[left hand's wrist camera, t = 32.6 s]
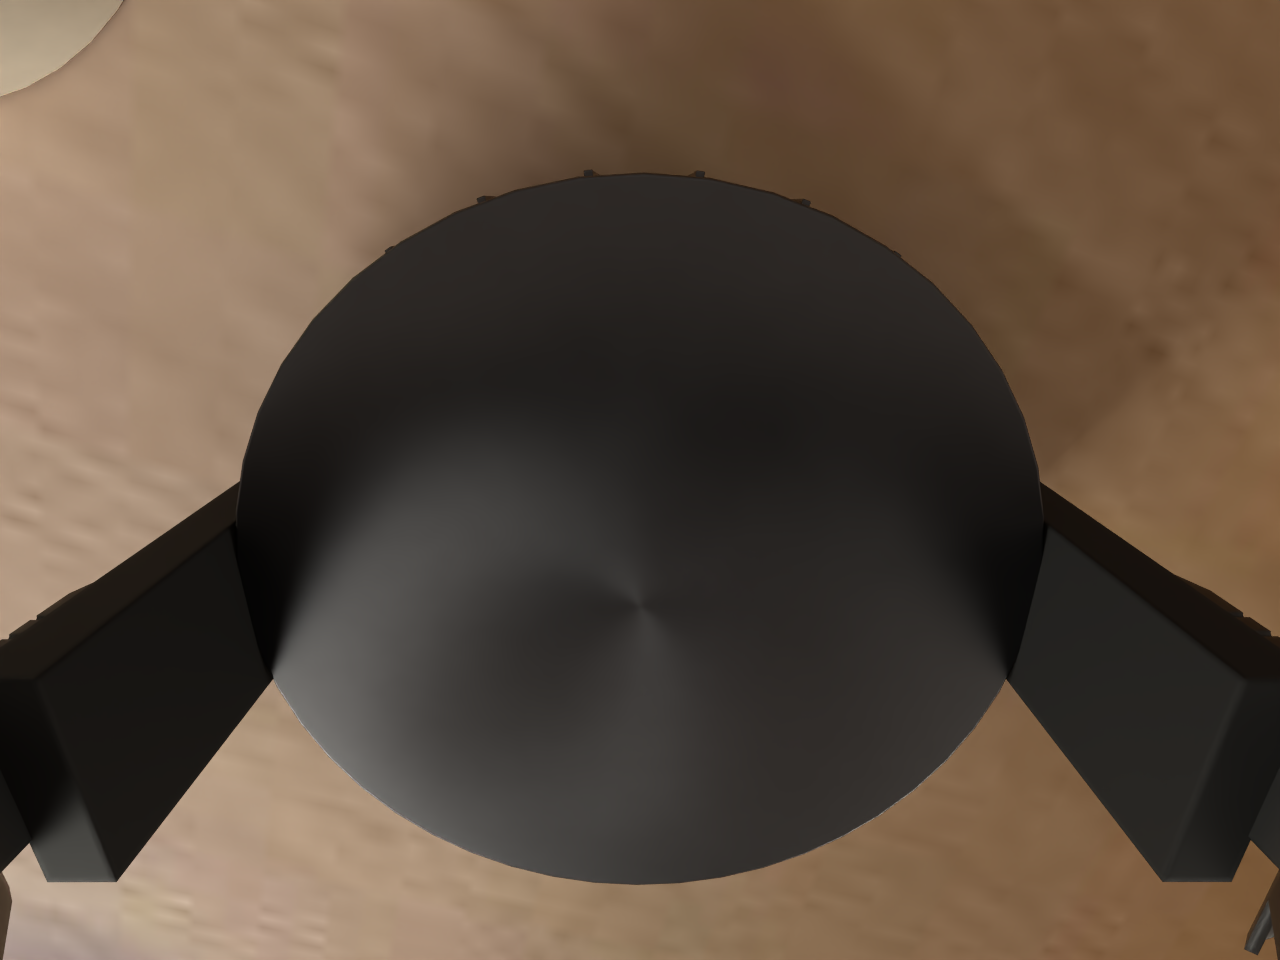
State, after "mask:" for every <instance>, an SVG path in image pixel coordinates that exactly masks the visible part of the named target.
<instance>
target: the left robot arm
mask: <svg viewBox="0 0 1280 960" xmlns="http://www.w3.org/2000/svg"><path fill="white" fill-rule="evenodd" d="M239 485H240V481H239V482H238V483H237V484H235V485H234V486H232V487H231V488H229V489H228V490H226V491H225V492H224V493H222V494H221V495H219V496H218V497H216V498H215V499H213V500H212V501H211V502H209V503H208V504H206V505H205V506H203V507H202V508H200V509H199V510H198V511H196V512H195V513H193V514H192V515H190V516H189V517H188V518H186V519H185V520H183V521H182V522H180V523H179V524H177V525H176V526H175V527H173V528H172V529H170V530H169V531H167V532H166V533H164V534H163V535H162V536H160V537H159V538H157V539H156V540H154V541H153V542H151V543H150V544H149V545H147V546H146V547H144V548H143V549H141V550H140V551H138V552H137V553H136V554H134V555H133V556H131V557H130V558H128V559H127V560H125V561H124V562H123V563H121V564H120V565H118V566H117V567H115V568H114V569H112V570H111V571H110V572H108V573H107V574H105V575H104V576H102V577H101V578H99V579H98V580H97V581H95V582H94V583H91V584H89V585H87V586H85V587H83V588H80V589H78V590H76V591H74V592H71V593H69V594H68V595H66V596H65V597H63V598H62V599H61V600H59V601H58V602H56V603H55V604H53V605H52V606H50V607H49V608H47V609H46V610H44V611H43V612H41V613H40V614H39V615H37V619H36V620H30V621H28V622H27V623H25V624H24V625H22V626H21V627H19V628H18V629H17V630H15V631H14V632H12V633H11V634H9V639H2V640H0V960H3V954H4V948H5V942H6V936H7V929H8V923H9V917H10V911H11V905H12V899H11V894H10V889H9V885H8V883H7V881H6V879H5V877H4V875H3V873H2V871H3V870H4V869H5V868H6V867H7V866H8V865H9V864H10V862H11V861H12V860H13V859H14V858H15V857H16V856H17V855H18V854H19V853H20V852H21V851H22V850H23V849H24V848H25V847H26V846H27V845H28V844H29V843H30V845H31V847H32V849H33V852H34V854H35V856H36V858H37V860H38V863H39V865H40V867H41V869H42V871H43V873H44V876H45V878H46V880H47V882H117V881H118V879H119V878H120V877H121V875H122V874H123V873H124V871H125V870H126V869H127V868H128V866H129V865H130V864H131V862H132V861H133V860H134V859H135V857H136V856H137V855H138V853H139V852H140V851H141V849H142V848H143V847H144V846H145V844H146V843H147V842H148V840H149V839H150V838H151V836H152V835H153V834H154V833H155V831H156V830H157V829H158V827H159V826H160V825H161V824H162V822H163V821H164V820H165V818H166V817H167V816H168V814H169V813H170V812H171V811H172V809H173V808H174V807H175V805H176V804H177V803H178V801H179V800H180V799H181V798H182V796H183V795H184V794H185V792H186V791H187V790H188V789H189V787H190V786H191V785H192V783H193V782H194V781H195V779H196V778H197V777H198V776H199V774H200V773H201V772H202V770H203V769H204V768H205V766H206V765H207V764H208V763H209V761H210V760H211V759H212V757H213V756H214V755H215V754H216V752H217V751H218V750H219V748H220V747H221V746H222V744H223V743H224V742H225V741H226V739H227V738H228V737H229V735H230V734H231V733H232V731H233V730H234V729H235V728H236V726H237V725H238V724H239V722H240V721H241V720H242V719H243V717H244V716H245V715H246V713H247V712H248V711H249V709H250V708H251V707H252V706H253V704H254V703H255V702H256V700H257V699H258V698H259V696H260V695H261V694H262V693H263V691H264V690H265V689H266V687H267V686H268V685H269V684H270V682H271V681H272V680H273V677H272V675H271V673H270V671H269V669H268V667H267V665H266V663H265V660H264V658H263V656H262V654H261V652H260V650H259V648H258V644H257V640H256V637H255V633H254V629H253V626H252V622H251V618H250V614H249V610H248V606H247V602H246V598H245V594H244V590H243V586H242V581H241V577H240V572H239V568H238V563H237V550H236V506H237V499H238V492H239ZM1040 487H1041V496H1042V504H1043V512H1044V529H1043V557H1042V562H1041V567H1040V571H1039V575H1038V579H1037V583H1036V588H1035V592H1034V596H1033V600H1032V604H1031V608H1030V612H1029V616H1028V620H1027V624H1026V628H1025V632H1024V635H1023V639H1022V643H1021V646H1020V650H1019V653H1018V655H1017V657H1016V659H1015V661H1014V663H1013V665H1012V667H1011V669H1010V671H1009V673H1008V675H1007V677H1006V679H1007V681H1008V682H1009V683H1010V685H1011V686H1012V687H1013V688H1014V690H1015V691H1016V692H1017V694H1018V695H1019V696H1020V698H1021V699H1022V700H1023V701H1024V703H1025V704H1026V705H1027V707H1028V708H1029V709H1030V710H1031V712H1032V713H1033V714H1034V716H1035V717H1036V718H1037V720H1038V721H1039V722H1040V723H1041V725H1042V726H1043V727H1044V729H1045V730H1046V731H1047V733H1048V734H1049V735H1050V736H1051V738H1052V739H1053V740H1054V742H1055V743H1056V744H1057V745H1058V747H1059V748H1060V749H1061V751H1062V752H1063V753H1064V755H1065V756H1066V757H1067V758H1068V760H1069V761H1070V762H1071V764H1072V765H1073V766H1074V768H1075V769H1076V770H1077V771H1078V773H1079V774H1080V775H1081V777H1082V778H1083V779H1084V781H1085V782H1086V783H1087V784H1088V786H1089V787H1090V788H1091V790H1092V791H1093V792H1094V793H1095V795H1096V796H1097V797H1098V799H1099V800H1100V801H1101V803H1102V804H1103V805H1104V806H1105V808H1106V809H1107V810H1108V812H1109V813H1110V814H1111V816H1112V817H1113V818H1114V819H1115V821H1116V822H1117V823H1118V825H1119V826H1120V827H1121V828H1122V830H1123V831H1124V832H1125V834H1126V835H1127V836H1128V838H1129V839H1130V840H1131V841H1132V843H1133V844H1134V845H1135V847H1136V848H1137V849H1138V851H1139V852H1140V853H1141V854H1142V856H1143V857H1144V858H1145V860H1146V861H1147V862H1148V863H1149V865H1150V866H1151V867H1152V869H1153V870H1154V871H1155V873H1156V874H1157V875H1158V876H1159V878H1160V879H1161V880H1162V882H1232V880H1233V877H1234V875H1235V873H1236V871H1237V869H1238V866H1239V864H1240V862H1241V860H1242V858H1243V856H1244V853H1245V851H1246V849H1247V847H1248V845H1249V842H1250V840H1252V841H1253V842H1254V844H1255V845H1256V846H1257V847H1258V848H1259V849H1260V850H1261V851H1262V852H1263V853H1264V854H1265V855H1266V856H1267V857H1268V858H1269V859H1270V860H1271V861H1272V862H1273V863H1274V864H1275V865H1276V866H1277V867H1278V868H1279V871H1278V873H1277V875H1276V877H1275V879H1274V881H1273V883H1272V885H1271V888H1270V890H1269V892H1268V894H1267V896H1266V898H1265V900H1264V902H1263V904H1262V906H1261V908H1260V910H1259V912H1258V914H1257V916H1256V918H1255V920H1254V922H1253V924H1252V926H1251V928H1250V930H1249V932H1248V935H1247V939H1246V944H1245V948H1244V949H1245V950H1247V951H1249V952H1252V953H1254V954H1256V955H1258V953H1259V951H1260V949H1261V947H1262V945H1263V944H1264V942H1265V940H1266V939H1269V938H1272V937H1274V939H1275V945H1276V951H1277V957H1278V960H1280V637H1278V636H1271V631H1269V630H1268V629H1266V628H1265V627H1263V626H1262V625H1260V624H1259V623H1257V622H1256V621H1255V620H1253V619H1252V618H1250V617H1244V616H1243V612H1241V611H1240V610H1238V609H1237V608H1235V607H1234V606H1232V605H1231V604H1229V603H1228V602H1226V601H1225V600H1223V599H1222V598H1221V597H1219V596H1218V595H1216V594H1215V593H1213V592H1212V591H1210V590H1208V589H1206V588H1203V587H1201V586H1199V585H1197V584H1194V583H1192V582H1190V581H1188V580H1185V579H1183V578H1181V577H1179V576H1176V575H1174V574H1172V573H1171V572H1170V571H1168V570H1167V569H1165V568H1164V567H1162V566H1161V565H1159V564H1158V563H1157V562H1155V561H1154V560H1152V559H1151V558H1149V557H1148V556H1146V555H1145V554H1144V553H1142V552H1141V551H1139V550H1138V549H1136V548H1135V547H1133V546H1132V545H1131V544H1129V543H1128V542H1126V541H1125V540H1123V539H1122V538H1120V537H1119V536H1118V535H1116V534H1115V533H1113V532H1112V531H1110V530H1109V529H1107V528H1106V527H1105V526H1103V525H1102V524H1100V523H1099V522H1097V521H1096V520H1095V519H1093V518H1092V517H1090V516H1089V515H1087V514H1086V513H1084V512H1083V511H1082V510H1080V509H1079V508H1077V507H1076V506H1074V505H1073V504H1071V503H1070V502H1069V501H1067V500H1066V499H1064V498H1063V497H1061V496H1060V495H1058V494H1057V493H1056V492H1054V491H1053V490H1051V489H1050V488H1048V487H1047V486H1045V485H1044V484H1043V483H1041V482H1040Z"/></svg>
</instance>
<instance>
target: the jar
mask: <svg viewBox="0 0 1280 960" xmlns="http://www.w3.org/2000/svg"><path fill="white" fill-rule="evenodd" d="M122 2H123V0H0V97H1V96H3V95H6V94H9V93H12V92H15V91H18V90H20V89H23V88H26V87H28V86H30V85H31V84H33V83H35V82H37V81H38V80H40V79H42V78H44V77H45V76H47V75H49V74H51V73H52V72H54V71H56V70H58V69H59V68H61V67H62V66H64V65H65V64H66V63H67V62H68V61H69V60H71V59H72V58H73V57H74V56H75V55H77V54H78V53H79V52H80V51H81V50H82V49H84V48H85V47H86V46H87V45H88V44H90V43H91V42H92V41H93V39H94V38H95V37H96V36H97V35H98V33H99V32H100V31H101V30H102V29H103V27H104V26H105V25H106V24H107V23H108V21H109V20H110V19H111V18H112V17H113V15H114V14H115V13H116V12H117V11H118V9H119V7H120V6H121V4H122Z"/></svg>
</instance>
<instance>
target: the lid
mask: <svg viewBox="0 0 1280 960" xmlns="http://www.w3.org/2000/svg"><path fill="white" fill-rule="evenodd" d="M704 175H705V172H703V171H695V172H694V173H692V174H690V175H688V176H680V175H667V174H655V173H631V174H615V175H599V174H597V173H596V172H594V171H593V170H585V171H584V176H582V177H575V178H570V179H566V180H561V181H556V182H551V183H546V184H542V185H537V186H532V187H527V188H522V189H518V190H514V191H511V192H508V193H506V194H503V195H500V196H497V197H496V196H482V197H480V198H477V201H478V204H476V205H473V206H470V207H467V208H465V209H462V210H459V211H457V212H454V213H452V214H451V215H449V216H447V217H445V218H443V219H441V220H440V221H438V222H436V223H434V224H432V225H430V226H429V227H427V228H425V229H423V230H421V231H419V232H418V233H416V234H414V235H412V236H410V237H408V238H406V239H405V240H403V241H401V242H400V243H398V244H397V245H396V246H391V247H389V248H388V249H387V250H385V252H386V253H385V254H384V255H382V256H381V257H380V258H378V259H377V260H376V261H375V262H373V263H372V264H371V265H369V266H368V267H367V268H365V269H364V270H363V271H361V272H360V273H359V274H357V275H356V276H355V277H353V278H352V279H351V280H350V281H349V282H348V284H347V285H346V286H345V287H344V288H343V289H342V290H341V291H340V292H339V293H338V294H337V295H336V296H335V297H334V298H333V299H332V300H331V301H330V302H329V303H328V304H327V305H326V306H325V307H324V308H323V309H322V310H321V311H320V312H319V313H318V315H317V316H316V317H315V318H314V319H313V320H312V321H311V323H310V324H309V326H308V327H307V328H306V330H305V331H304V333H303V334H302V336H301V337H300V338H299V340H298V341H297V343H296V344H295V345H294V347H293V348H292V350H291V351H290V353H289V354H288V355H287V357H286V358H285V360H284V361H283V363H282V364H281V366H280V368H279V370H278V372H277V374H276V376H275V378H274V380H273V382H272V384H271V386H270V388H269V390H268V392H267V394H266V396H265V398H264V401H263V403H262V405H261V407H260V409H259V411H258V413H257V417H256V420H255V423H254V426H253V430H252V433H251V436H250V439H249V443H248V446H247V449H246V453H245V456H244V459H243V464H242V471H241V478H240V485H239V492H238V499H237V506H236V550H237V563H238V568H239V572H240V577H241V581H242V586H243V590H244V594H245V598H246V602H247V606H248V610H249V614H250V618H251V622H252V626H253V629H254V633H255V637H256V640H257V644H258V648H259V650H260V652H261V654H262V656H263V658H264V660H265V663H266V665H267V667H268V669H269V671H270V673H271V675H272V677H273V679H274V681H275V684H276V686H277V687H278V689H279V691H280V692H281V694H282V695H283V697H284V698H285V700H286V701H287V703H288V704H289V706H290V708H291V709H292V711H293V712H294V714H295V715H296V717H297V718H298V720H299V721H300V723H301V724H302V726H303V727H304V728H305V729H306V730H307V731H308V733H309V734H310V735H311V736H312V737H313V739H314V740H315V741H316V742H317V743H318V745H319V746H320V747H321V748H322V749H323V750H324V752H325V753H326V754H327V755H328V756H329V758H331V759H332V760H333V761H334V762H335V763H336V764H337V765H338V766H339V767H340V768H341V769H342V770H343V771H344V772H345V773H347V774H348V775H349V776H350V777H351V778H352V779H353V780H354V781H355V782H356V783H357V784H358V785H359V786H360V787H362V788H363V789H364V790H366V791H367V792H368V793H370V794H371V795H372V796H374V797H375V798H376V799H378V800H379V801H380V802H382V803H383V804H384V805H386V806H387V807H388V808H390V809H391V810H392V811H394V812H395V813H397V814H398V815H400V816H402V817H403V818H405V819H407V820H408V821H410V822H412V823H414V824H415V825H417V826H419V827H420V828H422V829H424V830H425V831H427V832H429V833H430V834H432V835H434V836H436V837H439V838H441V839H443V840H445V841H447V842H449V843H452V844H454V845H456V846H458V847H460V848H462V849H465V850H467V851H469V852H471V853H474V854H477V855H480V856H483V857H485V858H488V859H491V860H494V861H497V862H500V863H503V864H506V865H508V866H511V867H515V868H520V869H524V870H528V871H532V872H536V873H540V874H544V875H548V876H553V877H559V878H566V879H573V880H580V881H587V882H594V883H612V884H631V885H645V884H669V883H684V882H691V881H699V880H706V879H713V878H721V877H726V876H730V875H734V874H738V873H743V872H747V871H751V870H756V869H760V868H764V867H767V866H770V865H773V864H776V863H779V862H782V861H785V860H788V859H791V858H794V857H797V856H800V855H803V854H805V853H807V852H810V851H812V850H814V849H816V848H819V847H821V846H823V845H825V844H827V843H830V842H832V841H834V840H836V839H839V838H841V837H843V836H845V835H846V834H848V833H850V832H852V831H853V830H855V829H857V828H859V827H860V826H862V825H864V824H866V823H867V822H869V821H871V820H872V819H874V818H876V817H878V816H879V815H881V814H882V813H884V812H885V811H886V810H888V809H889V808H890V807H892V806H893V805H895V804H896V803H897V802H899V801H900V800H901V799H903V798H904V797H906V796H907V795H908V794H910V793H911V792H912V791H914V790H915V789H916V788H917V787H918V786H919V785H921V784H922V783H923V782H924V781H925V780H926V779H927V778H928V777H929V776H930V775H931V774H933V773H934V772H935V771H936V770H937V769H938V768H939V767H940V766H941V765H942V764H944V763H945V762H946V761H947V760H948V758H949V757H950V756H951V755H952V754H953V753H954V752H955V750H956V749H957V748H958V747H959V746H960V745H961V743H962V742H963V741H964V740H965V739H966V738H967V737H968V735H969V734H970V733H971V732H972V731H973V730H974V729H975V727H976V726H977V724H978V723H979V721H980V720H981V718H982V717H983V715H984V714H985V712H986V711H987V709H988V708H989V706H990V705H991V703H992V702H993V700H994V699H995V697H996V696H997V694H998V693H999V692H1000V690H1001V688H1002V685H1003V683H1004V681H1005V679H1006V677H1007V675H1008V673H1009V671H1010V669H1011V667H1012V665H1013V663H1014V661H1015V659H1016V657H1017V655H1018V653H1019V650H1020V646H1021V643H1022V639H1023V635H1024V632H1025V628H1026V624H1027V620H1028V616H1029V612H1030V608H1031V604H1032V600H1033V596H1034V592H1035V588H1036V583H1037V579H1038V575H1039V571H1040V567H1041V562H1042V557H1043V529H1044V512H1043V504H1042V496H1041V487H1040V479H1039V470H1038V465H1037V462H1036V458H1035V455H1034V451H1033V448H1032V444H1031V440H1030V437H1029V433H1028V430H1027V426H1026V423H1025V419H1024V417H1023V414H1022V412H1021V410H1020V408H1019V406H1018V404H1017V401H1016V399H1015V397H1014V395H1013V393H1012V391H1011V389H1010V386H1009V384H1008V382H1007V380H1006V378H1005V376H1004V373H1003V371H1002V370H1001V368H1000V367H999V365H998V364H997V362H996V361H995V359H994V358H993V356H992V355H991V353H990V352H989V350H988V349H987V347H986V346H985V344H984V343H983V341H982V340H981V338H980V337H979V335H978V334H977V332H976V331H975V329H974V328H973V326H972V325H971V324H970V323H969V322H968V321H967V319H966V318H965V317H964V316H963V315H962V314H961V313H960V312H959V311H958V310H957V309H956V308H955V307H954V305H953V304H952V303H951V302H950V301H949V300H948V299H947V298H946V297H945V296H944V295H943V294H942V292H941V291H940V290H939V289H938V288H937V287H936V286H935V285H934V284H933V283H932V282H931V281H930V280H928V279H927V278H926V277H924V276H923V275H922V274H921V273H919V272H918V271H917V270H916V269H914V268H913V267H912V266H911V265H909V264H908V263H907V262H906V261H904V260H903V259H902V258H900V257H901V255H900V254H899V253H897V252H896V251H892V250H890V249H889V248H888V247H887V246H885V245H883V244H882V243H880V242H878V241H876V240H875V239H873V238H871V237H869V236H868V235H866V234H864V233H862V232H861V231H859V230H857V229H855V228H854V227H852V226H850V225H848V224H847V223H845V222H843V221H841V220H840V219H838V218H836V217H834V216H832V215H830V214H827V213H825V212H822V211H820V210H817V209H814V208H812V207H809V206H810V203H811V202H810V201H808V200H805V199H789V198H786V197H784V196H781V195H778V194H776V193H773V192H769V191H765V190H760V189H756V188H752V187H747V186H743V185H738V184H734V183H730V182H725V181H721V180H717V179H712V178H704Z"/></svg>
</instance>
